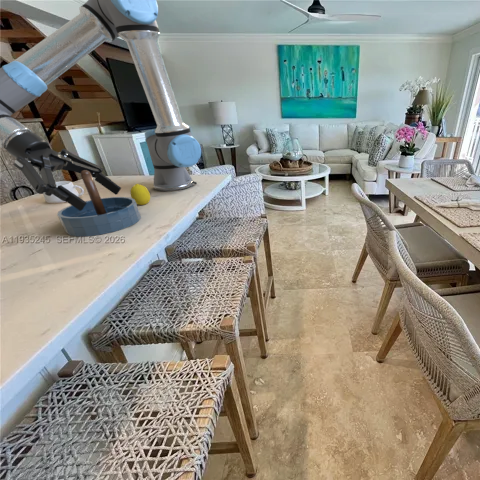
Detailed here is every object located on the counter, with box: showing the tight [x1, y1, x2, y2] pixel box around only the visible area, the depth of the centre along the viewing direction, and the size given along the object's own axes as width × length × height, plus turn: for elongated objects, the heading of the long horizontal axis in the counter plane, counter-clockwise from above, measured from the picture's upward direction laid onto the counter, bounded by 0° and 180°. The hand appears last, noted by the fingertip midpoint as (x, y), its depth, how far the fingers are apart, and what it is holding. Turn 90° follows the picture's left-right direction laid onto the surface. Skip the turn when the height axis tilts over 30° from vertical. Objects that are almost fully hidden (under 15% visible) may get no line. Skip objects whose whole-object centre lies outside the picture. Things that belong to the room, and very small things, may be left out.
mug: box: [42, 180, 85, 204], centre depth 98 cm, size 12×10×6 cm
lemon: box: [129, 183, 151, 206], centre depth 91 cm, size 6×6×8 cm
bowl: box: [56, 196, 142, 237], centre depth 76 cm, size 18×18×6 cm
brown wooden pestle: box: [79, 170, 106, 215], centre depth 74 cm, size 6×6×15 cm
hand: (102, 198), depth 74 cm, fingers open, 13 cm apart
